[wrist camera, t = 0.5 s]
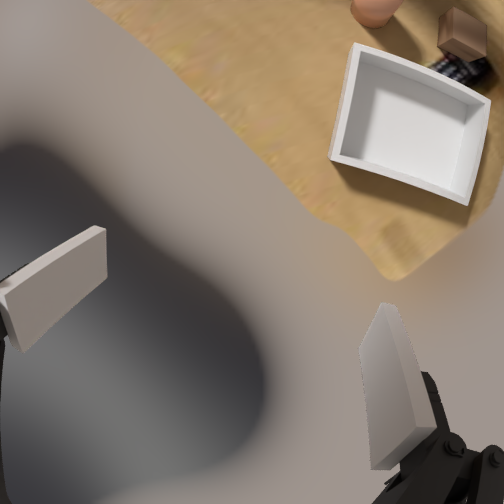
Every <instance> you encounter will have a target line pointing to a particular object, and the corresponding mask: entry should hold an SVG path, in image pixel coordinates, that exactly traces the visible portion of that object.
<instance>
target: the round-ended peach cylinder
mask: <svg viewBox="0 0 504 504" xmlns="http://www.w3.org/2000/svg"><path fill="white" fill-rule="evenodd" d="M402 2H403V0H352V3H351V7H350V9H351V13H352V15H353V17H354V18H355V19H356V20H357V21H358V22H359V23H360V24H362V25H364V26H367V27H370V28H379V27H382V26H384V25H385V24H386V23H387V22H388V21H389V19H390V18H391V17H392V15H393V14H394V13H395V11H396V10H397V9H398V7H399V6H400V5H401V3H402Z"/></svg>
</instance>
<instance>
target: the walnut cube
mask: <svg viewBox="0 0 504 504" xmlns="http://www.w3.org/2000/svg"><path fill="white" fill-rule="evenodd" d="M486 46H487V25H486V24H484V23H483V22H481V21H479V20H478V19H476V18H474V17H472V16H471V15H469V14H467V13H465V12H463V11H462V10H460V9H458V8H456V7H452V8H451V9H450V10H448V11H447V12H446V13H445V14H443V15H442V16H441V17H440V18H439V32H438V44H437V47H439V48H441V49H443V50H445V51H448V52H450V53H452V54H454V55H456V56H458V57H459V58H461V59H463V60H465V61H467V62H470V61H473V60H476V59H479V58H482V57H485V56H486Z"/></svg>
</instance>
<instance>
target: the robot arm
mask: <svg viewBox="0 0 504 504" xmlns="http://www.w3.org/2000/svg"><path fill="white" fill-rule="evenodd" d="M106 278H107V261H106V229H105V228H101V227H98V226H93V227H91V228H89V229H87V230H85V231H84V232H82V233H80V234H78V235H76V236H75V237H73V238H71V239H69V240H68V241H66V242H64V243H63V244H61V245H60V246H58V247H56V248H54V249H52V250H51V251H49V252H48V253H46V254H44V255H43V256H41V257H39V258H38V259H36V260H35V261H33V262H31V263H28V264H25V265H24V266H22V267H20V268H19V269H18V270H17V271H14V272H13V273H11V275H8V276H7V277H5V278H4V279H2V280H1V281H0V398H1V381H2V369H3V359H4V351H5V341H4V337H5V336H7V335H8V337H9V339H10V342H11V344H12V346H13V347H15V348H16V349H17V350H19V351H20V352H22V353H24V352H26V351H27V350H28V348H30V346H32V345H33V344H34V343H35V342H36V341H37V340H38V339H39V338H40V337H41V336H42V335H43V334H44V333H45V332H46V331H47V330H49V329H50V328H51V327H52V326H53V325H54V324H55V323H56V322H57V321H58V320H59V319H60V318H61V317H63V316H64V315H65V314H66V313H67V312H68V311H69V310H70V309H72V307H74V306H75V305H76V304H77V303H78V302H79V301H81V300H82V299H83V298H84V297H85V296H86V295H87V294H89V293H90V292H91V291H92V290H93V289H94V288H96V287H97V286H98V285H99V284H100V283H101V282H102V281H104V280H105V279H106ZM358 350H359V356H360V363H361V370H362V378H363V385H364V393H365V402H366V411H367V422H368V433H369V445H370V461H371V470H391V469H392V468H393V467H394V466H396V465H397V464H398V463H400V471H399V472H398V473H397V474H396V475H394V476H393V477H392V478H390V479H389V480H388V481H386V482H385V483H384V484H385V485H387V484H388V483H389V484H388V485H387V486H386V487H385V489H384V490H383V491H382V492H381V494H380V495H379V496H378V497H377V498H376V499H375V501H374V502H373V503H372V504H503V500H504V451H503V450H502V449H501V448H500V447H498V446H496V445H490V446H488V447H486V448H485V449H484V450H483V451H482V452H481V453H480V452H477V451H473V450H469V449H467V448H466V444H465V442H464V441H463V439H462V438H461V437H460V436H459V435H457V434H455V433H452V432H450V429H449V425H448V422H447V418H446V415H445V412H444V408H443V405H442V403H441V399H440V396H439V394H438V390H437V387H436V384H435V382H434V380H433V379H432V378H431V376H430V375H429V374H428V372H422V371H420V368H419V365H418V363H417V359H416V357H415V354H414V351H413V348H412V345H411V343H410V340H409V337H408V334H407V332H406V329H405V327H404V324H403V321H402V319H401V316H400V314H399V311H398V309H397V306H396V305H392V304H388V303H384V302H381V304H380V307H379V308H378V310H377V312H376V314H375V317H374V319H373V321H372V323H371V325H370V327H369V329H368V331H367V333H366V335H365V337H364V339H363V340H362V342H361V344H360V346H359V348H358ZM2 464H3V463H2V452H1V434H0V504H12V503H11V501H10V500H9V498H8V496H7V492H6V487H5V481H4V473H3V465H2ZM466 500H467V501H466Z"/></svg>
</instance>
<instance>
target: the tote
mask: <svg viewBox="0 0 504 504" xmlns="http://www.w3.org/2000/svg"><path fill="white" fill-rule="evenodd" d="M490 105H491V100H489V99H487V98H486V97H484V96H482V95H480V94H479V93H477V92H475V91H473V90H471V89H470V88H468V87H466V86H464V85H462V84H460V83H458V82H456V81H454V80H452V79H450V78H448V77H446V76H444V75H442V74H439V73H437V72H435V71H433V70H431V69H428V68H426V67H424V66H421V65H419V64H416V63H414V62H411V61H409V60H406V59H404V58H401V57H398V56H395V55H393V54H390V53H387V52H384V51H381V50H378V49H375V48H372V47H368V46H365V45H362V44H358V43H355V42H354V44H353V46H352V48H351V50H350V52H349V54H348V59H347V65H346V70H345V76H344V81H343V86H342V91H341V96H340V101H339V106H338V110H337V115H336V120H335V125H334V129H333V134H332V138H331V143H330V147H329V151H328V156H327V157H328V158H329V159H330V160H332V161H336V162H339V163H343V164H347V165H350V166H354V167H357V168H361V169H364V170H367V171H371V172H374V173H377V174H380V175H384V176H387V177H390V178H393V179H396V180H399V181H402V182H405V183H408V184H411V185H413V186H416V187H419V188H422V189H425V190H427V191H430V192H433V193H435V194H438V195H441V196H443V197H446V198H448V199H451V200H453V201H456V202H458V203H461V204H463V205H466V206H468V204H469V200H470V197H471V194H472V190H473V187H474V183H475V179H476V176H477V172H478V168H479V164H480V159H481V155H482V150H483V146H484V141H485V136H486V130H487V124H488V118H489V112H490Z"/></svg>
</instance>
